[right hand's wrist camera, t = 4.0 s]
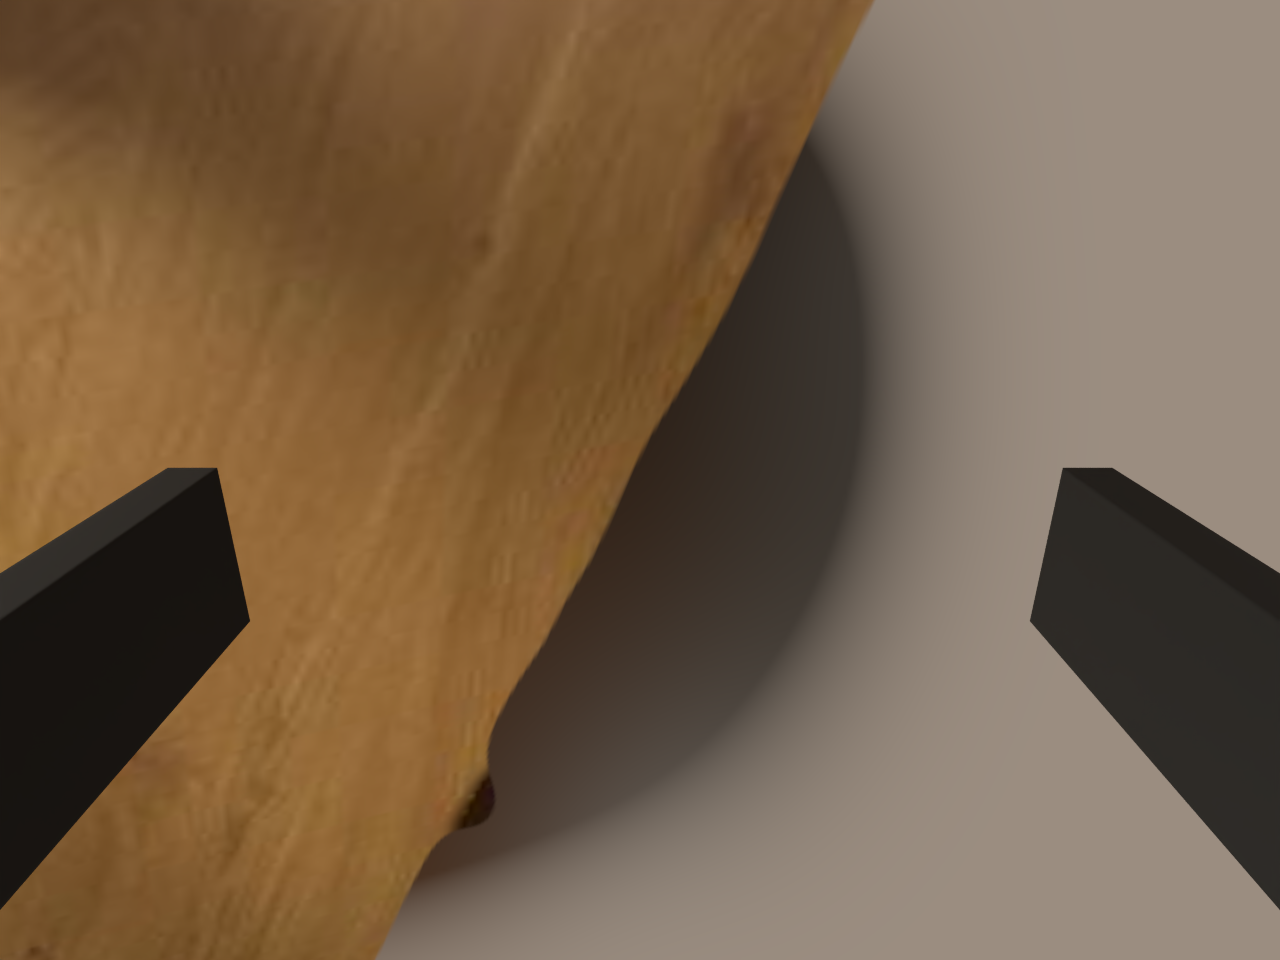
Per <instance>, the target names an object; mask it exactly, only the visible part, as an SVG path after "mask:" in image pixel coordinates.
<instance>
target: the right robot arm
mask: <svg viewBox="0 0 1280 960" xmlns="http://www.w3.org/2000/svg"><path fill="white" fill-rule="evenodd" d="M249 622H250V619H249V614H248V609H247V605H246V600H245V595H244V591H243V586H242V581H241V577H240V572H239V568H238V563H237V558H236V554H235V549H234V544H233V540H232V535H231V530H230V526H229V521H228V516H227V512H226V507H225V502H224V498H223V493H222V489H221V484H220V479H219V475H218V470H217V468H167V469H165V470H164V471H162V472H160V473H159V474H157V475H156V476H154V477H152V478H151V479H149V480H148V481H146V482H145V483H143V484H141V485H140V486H138V487H137V488H135V489H133V490H132V491H130V492H129V493H127V494H125V495H124V496H122V497H121V498H119V499H118V500H116V501H114V502H113V503H111V504H110V505H108V506H106V507H105V508H103V509H102V510H100V511H98V512H97V513H95V514H94V515H92V516H91V517H89V518H87V519H86V520H84V521H83V522H81V523H79V524H78V525H76V526H75V527H73V528H71V529H70V530H68V531H67V532H65V533H64V534H62V535H60V536H59V537H57V538H56V539H54V540H52V541H51V542H49V543H48V544H46V545H45V546H43V547H41V548H40V549H38V550H37V551H35V552H33V553H32V554H30V555H29V556H27V557H25V558H24V559H22V560H21V561H19V562H18V563H16V564H14V565H13V566H11V567H10V568H8V569H6V570H5V571H3V572H2V573H0V909H1V908H2V907H3V906H4V905H5V904H6V902H7V901H8V900H9V899H10V898H11V897H12V896H13V894H14V893H15V892H16V891H17V890H18V889H19V887H20V886H21V885H22V884H23V883H24V882H25V881H26V879H27V878H28V877H29V876H30V875H31V874H32V872H33V871H34V870H35V869H36V868H37V867H38V865H39V864H40V863H41V862H42V861H43V860H44V859H45V857H46V856H47V855H48V854H49V853H50V852H51V850H52V849H53V848H54V847H55V846H56V845H57V844H58V842H59V841H60V840H61V839H62V838H63V837H64V835H65V834H66V833H67V832H68V831H69V830H70V829H71V827H72V826H73V825H74V824H75V823H76V822H77V820H78V819H79V818H80V817H81V816H82V815H83V813H84V812H85V811H86V810H87V809H88V808H89V807H90V805H91V804H92V803H93V802H94V801H95V800H96V798H97V797H98V796H99V795H100V794H101V793H102V792H103V790H104V789H105V788H106V787H107V786H108V785H109V783H110V782H111V781H112V780H113V779H114V778H115V777H116V775H117V774H118V773H119V772H120V771H121V770H122V768H123V767H124V766H125V765H126V764H127V763H128V761H129V760H130V759H131V758H132V757H133V756H134V755H135V753H136V752H137V751H138V750H139V749H140V748H141V746H142V745H143V744H144V743H145V742H146V741H147V740H148V738H149V737H150V736H151V735H152V734H153V733H154V731H155V730H156V729H157V728H158V727H159V726H160V725H161V723H162V722H163V721H164V720H165V719H166V718H167V716H168V715H169V714H170V713H171V712H172V711H173V709H174V708H175V707H176V706H177V705H178V704H179V703H180V701H181V700H182V699H183V698H184V697H185V696H186V694H187V693H188V692H189V691H190V690H191V689H192V688H193V686H194V685H195V684H196V683H197V682H198V681H199V679H200V678H201V677H202V676H203V675H204V674H205V673H206V671H207V670H208V669H209V668H210V667H211V666H212V664H213V663H214V662H215V661H216V660H217V659H218V657H219V656H220V655H221V654H222V653H223V652H224V651H225V649H226V648H227V647H228V646H229V645H230V644H231V642H232V641H233V640H234V639H235V638H236V637H237V636H238V634H239V633H240V632H241V631H242V630H243V629H244V627H245V626H246V625H247V624H248V623H249ZM1030 622H1031V623H1032V624H1033V625H1034V626H1035V627H1036V629H1037V630H1038V631H1039V632H1040V633H1041V634H1042V636H1043V637H1044V638H1045V639H1046V640H1047V641H1048V642H1049V644H1050V645H1051V646H1052V647H1053V648H1054V649H1055V651H1056V652H1057V653H1058V654H1059V655H1060V656H1061V657H1062V659H1063V660H1064V661H1065V662H1066V663H1067V664H1068V666H1069V667H1070V668H1071V669H1072V670H1073V671H1074V673H1075V674H1076V675H1077V676H1078V677H1079V678H1080V679H1081V681H1082V682H1083V683H1084V684H1085V685H1086V686H1087V688H1088V689H1089V690H1090V691H1091V692H1092V693H1093V694H1094V696H1095V697H1096V698H1097V699H1098V700H1099V701H1100V703H1101V704H1102V705H1103V706H1104V707H1105V708H1106V709H1107V711H1108V712H1109V713H1110V714H1111V715H1112V716H1113V718H1114V719H1115V720H1116V721H1117V722H1118V723H1119V724H1120V726H1121V727H1122V728H1123V729H1124V730H1125V731H1126V733H1127V734H1128V735H1129V736H1130V737H1131V738H1132V739H1133V741H1134V742H1135V743H1136V744H1137V745H1138V746H1139V748H1140V749H1141V750H1142V751H1143V752H1144V753H1145V755H1146V756H1147V757H1148V758H1149V759H1150V760H1151V761H1152V763H1153V764H1154V765H1155V766H1156V767H1157V768H1158V770H1159V771H1160V772H1161V773H1162V774H1163V775H1164V776H1165V778H1166V779H1167V780H1168V781H1169V782H1170V783H1171V785H1172V786H1173V787H1174V788H1175V789H1176V790H1177V791H1178V793H1179V794H1180V795H1181V796H1182V797H1183V798H1184V800H1185V801H1186V802H1187V803H1188V804H1189V805H1190V807H1191V808H1192V809H1193V810H1194V811H1195V812H1196V813H1197V815H1198V816H1199V817H1200V818H1201V819H1202V820H1203V822H1204V823H1205V824H1206V825H1207V826H1208V827H1209V829H1210V830H1211V831H1212V832H1213V833H1214V834H1215V835H1216V837H1217V838H1218V839H1219V840H1220V841H1221V842H1222V843H1223V845H1224V846H1225V847H1226V848H1227V849H1228V850H1229V852H1230V853H1231V854H1232V855H1233V856H1234V857H1235V859H1236V860H1237V861H1238V862H1239V863H1240V864H1241V865H1242V867H1243V868H1244V869H1245V870H1246V871H1247V872H1248V874H1249V875H1250V876H1251V877H1252V878H1253V879H1254V881H1255V882H1256V883H1257V884H1258V885H1259V886H1260V887H1261V889H1262V890H1263V891H1264V892H1265V893H1266V894H1267V896H1268V897H1269V898H1270V899H1271V900H1272V901H1273V902H1274V904H1275V905H1276V906H1277V907H1278V908H1279V909H1280V573H1278V572H1277V571H1275V570H1274V569H1272V568H1270V567H1269V566H1267V565H1266V564H1264V563H1262V562H1261V561H1259V560H1258V559H1256V558H1255V557H1253V556H1251V555H1250V554H1248V553H1247V552H1245V551H1243V550H1242V549H1240V548H1239V547H1237V546H1235V545H1234V544H1232V543H1231V542H1229V541H1227V540H1226V539H1224V538H1223V537H1221V536H1220V535H1218V534H1216V533H1215V532H1213V531H1212V530H1210V529H1208V528H1207V527H1205V526H1204V525H1202V524H1201V523H1199V522H1197V521H1196V520H1194V519H1193V518H1191V517H1189V516H1188V515H1186V514H1185V513H1183V512H1182V511H1180V510H1178V509H1177V508H1175V507H1174V506H1172V505H1170V504H1169V503H1167V502H1166V501H1164V500H1162V499H1161V498H1159V497H1158V496H1156V495H1155V494H1153V493H1151V492H1150V491H1148V490H1147V489H1145V488H1143V487H1142V486H1140V485H1139V484H1137V483H1135V482H1134V481H1132V480H1131V479H1129V478H1127V477H1126V476H1124V475H1123V474H1121V473H1120V472H1118V471H1116V470H1115V469H1113V468H1063V470H1062V475H1061V479H1060V484H1059V489H1058V493H1057V498H1056V502H1055V507H1054V512H1053V516H1052V521H1051V526H1050V530H1049V535H1048V540H1047V544H1046V549H1045V554H1044V558H1043V563H1042V568H1041V572H1040V577H1039V581H1038V586H1037V591H1036V596H1035V600H1034V605H1033V610H1032V614H1031V619H1030Z"/></svg>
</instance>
